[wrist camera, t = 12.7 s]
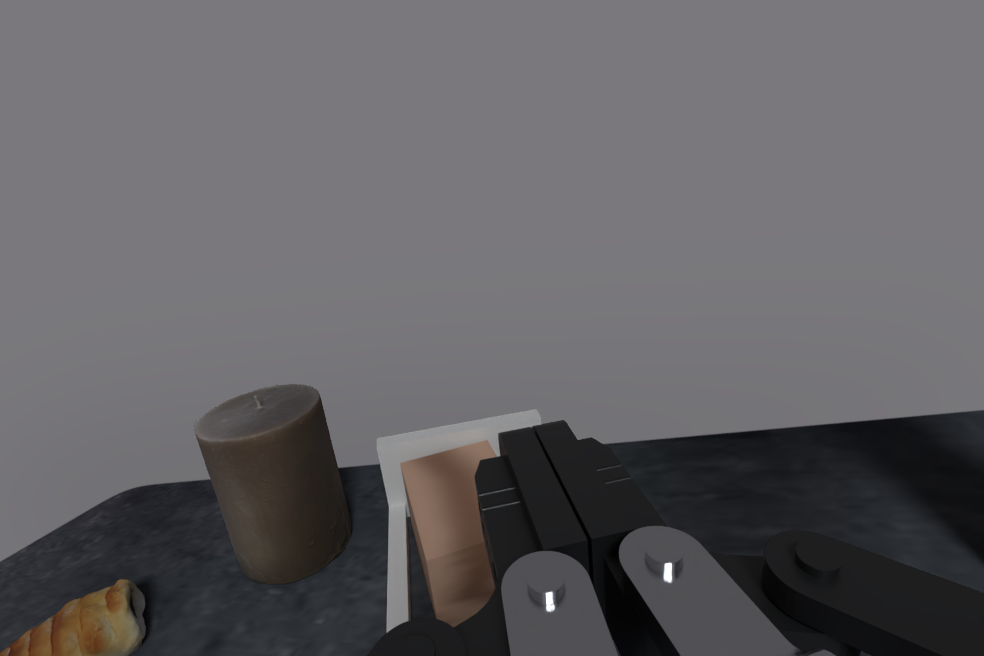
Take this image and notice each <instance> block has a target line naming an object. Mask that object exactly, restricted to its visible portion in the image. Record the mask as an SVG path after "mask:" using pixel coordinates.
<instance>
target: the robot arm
mask: <svg viewBox="0 0 984 656" xmlns="http://www.w3.org/2000/svg"><path fill="white" fill-rule="evenodd" d="M498 441H499V450H500V456H498V457H493V458H488V459H483V460H480V462H479V465H478V468H477V470H476V473H475V476H474V478H475V485H476V492H477V499H478V505H479V512H480V519H481V526H482V533H483V537H484V542H485V546H486V550H487V554H488V559H489V563H490V568H491V572H492V576H493V581H494V585H495V590H494V592H493V594H492V596H491V598H490V599H489V601H488V602H487V603H486V604H485V606H484V607H483V608H482V609H481V610H479V611H478V612H477V613H476V614H474V615H473V616H471V617H470V618H468V619H467V620H465V621H463V622H462V623H460V624H458V625H457V626H455V627H452V626H451V625H450V624H448V623H446V622H444V621H442V620H438V619H434V618H417V619H412V620H409V621H406V622H403V623H402V624H400V625H398V626H396V627H394V628H393V629H391V630H390V631H388V632H387V633H386V634H385V635H384V636H383V637H382V638H381V639H380V640H379V641H378V642H377V644H376V645H375V646H374V647H373V649H372V650H371V651H370V653H369V654H368V655H367V656H618V654H617V651H616V649H615V646H614V643H613V640H614V642H615V644H616V646H617V648H618V651H619V653H620V655H621V656H860V652H861V651H863V652H865V653H867V654H870V655H872V656H984V593H982V592H980V591H977V590H974V589H971V588H969V587H966V586H963V585H960V584H957V583H955V582H952V581H949V580H946V579H944V578H941V577H938V576H935V575H932V574H930V573H927V572H924V571H921V570H919V569H916V568H913V567H910V566H908V565H905V564H902V563H899V562H896V561H894V560H891V559H888V558H885V557H883V556H880V555H877V554H874V553H872V552H869V551H866V550H863V549H860V548H858V547H855V546H852V545H849V544H847V543H844V542H841V541H838V540H835V539H833V538H830V537H827V536H824V535H821V534H818V533H813V532H808V531H785V532H782V533H778V534H776V535H774V536H773V537H772V538H770V539H769V540H768V542H767V544H766V546H765V551H764V557H763V556H739V555H722V554H715V553H710V552H707V550H706V549H705V548H704V547H703V546H702V545H701V544H700V543H699V542H698V541H697V540H695V539H694V538H693V537H691V536H690V535H688V534H686V533H684V532H682V531H679V530H677V529H674V528H670V527H667V526H666V524H665V523H664V522H663V520H662V519H661V518H660V516H659V515H658V513H657V512H656V511H655V509H654V508H653V507H652V505H651V504H650V503H649V501H648V500H647V498H646V497H645V496H644V494H643V493H642V492H641V490H640V489H639V487H638V486H637V485H636V483H635V482H634V481H633V479H631V478H630V475H629V474H628V472H627V471H626V470H625V468H624V467H622V466H621V463H620V461H619V460H618V459H617V457H616V456H615V455H614V453H613V452H612V451H611V449H610V448H608V447H607V446H605V445H603V444H602V443H600V442H598V441H597V440H595V439H593V438H587V439H582V440H577V439H576V437H575V435H574V434H573V432H572V431H571V429H570V428H569V426H568V424H567V423H566V422H565V421H564V420H561V421H556V422H551V423H546V424H541V425H536V426H532V428H531V427H526V428H521V429H516V430H511V431H506V432H501V433H498Z"/></svg>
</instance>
